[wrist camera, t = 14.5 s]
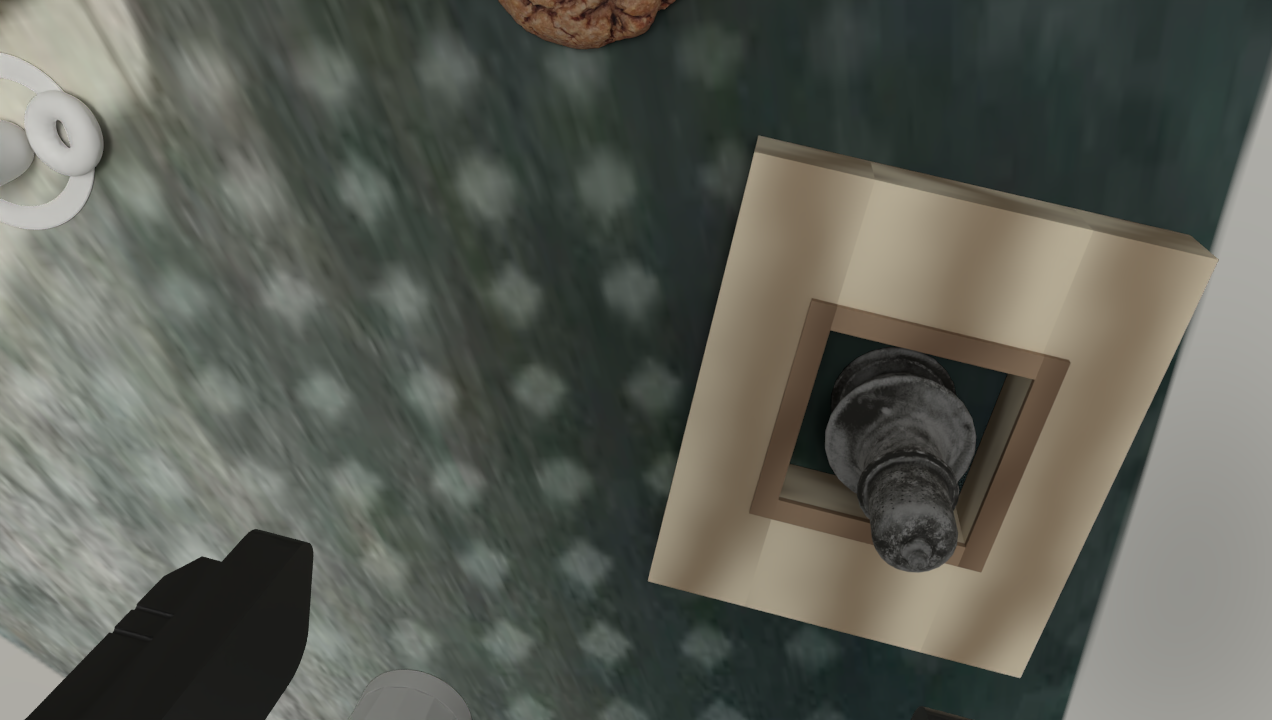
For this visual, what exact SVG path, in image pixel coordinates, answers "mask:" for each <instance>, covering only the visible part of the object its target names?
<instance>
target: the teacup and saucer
mask: <svg viewBox="0 0 1272 720" xmlns="http://www.w3.org/2000/svg"><path fill="white" fill-rule="evenodd" d="M0 78H4V79H9V80H12V81H15V82H18V83H20V84H22V85H24V86H26V87H27V88H29V89H31V90H32V91H34V92H35V93H36V94H37V95H36V96H34V97H33V98H32V99H31V101H30V102H29V104H28V105H27V107H26V111H25V116H24V126H25V130H26V132H25V130H23V129H22V128H21V127H20V126H18V125H16V124H14V123H12V122H9V121H5V120H0V186H2V185H4V184H6V183H8V182H10V181H12V180H14V179H16V178H17V177H19V176H20V175H22V174H23V173H24V172H25V171H26V170H27V169H28V168H29V167H30V165H31V163H32V161H33V159H34V152H35V153H36V155H37V156H38V157H39V159H40V160H41V161H42V162H43V163H45V164H46V165H47V166H48V167H50V168H51V169H52V170H54V171H56V172H58V173H60V174H63V175H66V176H70V178H69V181H68V183H67V185H66V187H65V189H64V190H63V191H62V193H61V194H60V195H59V196H58V197H56V198H55V199H54V200H52V201H50V202H48V203H46V204H43V205H38V206H22V205H17V204H13V203H10V202H8V201H5V200H3V199H1V198H0V222H3V223H5V224H8V225H11V226H14V227H18V228H23V229H31V230H41V229H49V228H53V227H56V226H59V225H61V224H64V223H65V222H67V221H69V220H70V219H72V218H73V217H74V216H75V215H76V214H77V213H78V212H79V211H80V210H81V209H82V208H83V206H84V205H85V203H86V201H87V199H88V197H89V195H90V192H91V189H92V186H93V181H94V172H95V167H96V166H97V164H98V163H99V161H100V159H101V157H102V154H103V147H104V142H103V135H102V131H101V128H100V126H99V123H98V121H97V119H96V118H95V116H94V114H93V113H92V112H91V110H90V109H89V108H88V107H87V106H86V105H85V104H84V103H83V102H82V101H80V100H79V99H78V98H76V97H74V96H72V95H70V94H68V93H65V92H64V91H63V90H62V89H61V88H60V86H59V85H58V84H57V83H56V82H55V81H53V80H52V79H51V78H50V77H49V76H48V75H46V74H45V73H44V72H43V71H41V70H40V69H38V68H37V67H35V66H34V65H32V64H30V63H28V62H26V61H24V60H22V59H20V58H18V57H15V56H12V55H9V54H6V53H1V52H0ZM57 120H60V121H61V123H62V125H63V127H64V129H65V131H66V133H67V136H68V139H69V142H70V147H71V148H68V147H67V146H66V145H65V144H64V143H63V142H62V140H61V139H60V137H59V135H58V133H57V129H56V121H57Z"/></svg>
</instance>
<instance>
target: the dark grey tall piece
mask: <svg viewBox="0 0 1272 720" xmlns="http://www.w3.org/2000/svg"><path fill="white" fill-rule="evenodd" d="M831 412H832V414H831V416H830V419H829V422H828V425H827V428H826V431H825V450H826V454H827V458H828V461H829V465H830V466H831V468H832V469H833V471H834V473H835V474H836V476H837V477H838V479H839V480H840V481H841V482H842V483H843V484H844V485H846V486H847V487H848V488H849V489H850V490H851V491H852V492H854V493H856V494H857V498H858V502H859V505H860V508H861V509H862V511H863V512H864V514H865V515H866V517H867V518H869V519H870V526H871V536H872V541H873V544H874V547H875V549H876V551H877V552H878V554H879V555H880V557H881V558H882V559H883V560H884V561H885V562H886V563H887V564H889V565H890V566H892V567H894V568H896V569H899V570H902V571H906V572H918V573H919V572H926V571H930V570H933V569H935V568H938V567H940V566H941V565H943V564H944V563H946V562H947V561H948V560H949V559H950V557H951V556H952V555H953V553H954V551H955V549H956V546H957V541H958V530H957V525H956V521H955V517H954V512H953V511H954V510H955V507H956V505H957V502H958V499H959V486H958V481H959V480H960V478H961V477H962V476H963V475H964V473H965V472H966V471H967V470H968V468H969V465H970V463H971V460H972V458H973V456H974V453H975V443H976V433H975V429H974V424H973V419H972V417H971V415H970V414H969V412H968V410H967V408H966V407H965V405H964V403H963V402H962V401H961V400H960V399H959V398H958V397H957V396H956V392H955V387H954V383H953V381H952V380H951V378H950V376H949V374H948V373H947V371H946V370H945V369H944V368H943V367H942V366H941V365H940V364H939V363H938V362H937V361H936V360H935V359H933V358H931V357H930V356H928V355H926V354H924V353H922V352H918V351H914V350H910V349H906V348H901V347H886V348H882V349H877V350H873V351H870V352H868V353H866V354H864V355H862V356H860V357H858V358H856V359H855V360H854V361H853V362H851V363H850V364H849V365H848V366H847V367H846V368H844V370H843V371H842V373H841V374H840V376H839V377H838V379H837V380H836V382H835V385H834V388H833V391H832V394H831Z"/></svg>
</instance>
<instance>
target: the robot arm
mask: <svg viewBox="0 0 1272 720" xmlns="http://www.w3.org/2000/svg"><path fill="white" fill-rule="evenodd" d="M312 569H313V548H312V545H311V544H310V543H308V542H304V541H300V540H296V539H293V538H289V537H285V536H281V535H277V534H274V533H270V532H266V531H262V530H258V529H254V530H252V531H250V532H249V533H248V534H247V535H246V536H245V537H244V538H243V539H242V540H241V541H240V542H239V543H238V544H237V545H236V547H235V548H234V549H233V550H232V551H231V552H230V553H229V554H228V555H227V557H226V558H225V559H224V560H223V561H222V562H221V561H217V560H213V559H209V558H206V557H200V558H198V559H196V560H194V561H192V562H191V563H189V564H187V565H185V566H183V567H181V568H179V569H177V570H175V571H173V572H171V573H169V574H167V575H166V576H164V577H163V578H162V579H161V580H160V581H159V582H158V583H157V584H156V585H155V586H154V587H153V588H152V589H151V590H150V591H149V592H148V593H147V594H146V595H145V596H144V597H143V598H142V599H141V600H140V601H139V602H138V603H137V606H136V609H135V610H131V611H130V612H129V613H128V614H127V615H126V616H125V617H124V618H123V619H122V620H121V621H120V622H119V623H118V624H117V625H116V626H115V629H114V631H113V633H108V634H107V636H106V637H105V638H104V639H103V640H102V641H101V642H100V643H99V644H98V645H97V646H96V647H95V648H94V649H93V650H92V651H91V652H90V653H89V654H88V655H87V656H86V657H85V658H84V659H83V660H82V661H81V662H80V663H79V664H78V665H77V666H76V668H75V669H74V670H73V671H72V672H71V673H70V674H69V675H68V676H67V677H66V678H65V679H64V680H63V681H62V682H61V683H60V684H59V685H58V686H57V687H56V688H55V689H54V690H53V691H52V692H51V694H49V695H48V697H47V698H46V699H45V700H44V701H43V702H42V703H41V704H40V705H39V706H38V707H37V708H36V709H35V710H34V711H33V712H32V713H31V714H30V715H29V716H28V717H27V718H26V719H25V720H265V719H266V718H267V716H268V715H269V713H270V712H271V710H272V709H273V707H274V706H275V704H276V703H277V701H278V700H279V698H280V697H281V695H282V694H283V692H284V691H285V689H286V688H287V686H288V685H289V683H290V682H291V680H292V678H293V677H294V675H295V673H296V671H297V669H298V666H299V664H300V661H301V659H302V656H303V653H304V650H305V646H306V642H307V637H308V628H309V613H310V598H311V584H312ZM911 720H972V719H968V718H964V717H960V716H957V715H953V714H949V713H945V712H942V711H938V710H934V709H930V708H926V707H923V706H921V707H919V708H917V709H916V711H915V712H914V714H913V716H912V718H911Z"/></svg>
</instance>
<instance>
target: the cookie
mask: <svg viewBox="0 0 1272 720" xmlns="http://www.w3.org/2000/svg"><path fill="white" fill-rule="evenodd" d="M498 1H499V2H500V3H501V5H502V6H503V7H504V8H505V9H506V11H507V12H508V13H509V14H510V15H511V16H512V17H513V19H514V20H515V21H516V23H518V24H519V25H521V26H522V27H523V28H524V29H525V30H526V31H528V32H530V33H532V34H535V35H537V36H538V37H540V38H542V39H544V40H546V41H549V42H553V43H556V44H560V45H563V46H567V47H570V48H575V49H591V48H599V47H602V46H605V45H606V44H608V43H612V42H615V41H616V40H622V39H625V38H633V37H636V36H639V35H641V34H643V33H645V32H646V31H647V30H648V29H649V28H650V26H651V25H652V23H653V22H654V20H655V16H656V14H657V11H660V10H661V9H666V8H667V7H668V6H669V5H670V4H672V3H673V2H674V1H676V0H498Z"/></svg>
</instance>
